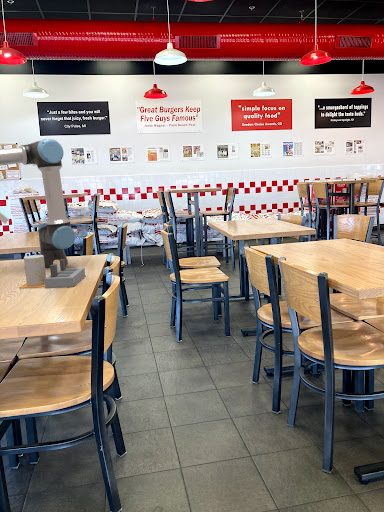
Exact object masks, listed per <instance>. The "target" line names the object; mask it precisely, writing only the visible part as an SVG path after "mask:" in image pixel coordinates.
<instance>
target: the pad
mask: <svg viewBox="0 0 384 512" xmlns="http://www.w3.org/2000/svg"><path fill="white" fill-rule="evenodd" d="M38 288H45V284H43V285H38V286H28V285H27V282H26V283H24V284H23V285H21V286H20V287H19V289H38Z"/></svg>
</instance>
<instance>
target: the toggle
mask: <svg viewBox="0 0 384 512" xmlns="http://www.w3.org/2000/svg"><path fill="white" fill-rule="evenodd" d="M53 264H57V272H58V273H59V272H61V269H60V261H59V260H54V262H53Z"/></svg>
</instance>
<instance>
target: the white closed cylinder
mask: <svg viewBox="0 0 384 512" xmlns="http://www.w3.org/2000/svg"><path fill="white" fill-rule="evenodd" d="M23 262H24V263H23V264H24V271H25V278H26V279H25V281H26V283H27V285H28V286H38V285H43V284H45V280H44V279H45V278H46V277H47V275H46V268H45V264H44V256H43V255H40V254H34V255H26V256H24V257H23Z"/></svg>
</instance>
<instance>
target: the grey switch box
mask: <svg viewBox="0 0 384 512" xmlns="http://www.w3.org/2000/svg"><path fill="white" fill-rule="evenodd" d="M59 261H60V269H61V272H59V273H58V272H57V264H52V265H50V267H49V271H50V275H48V276H46V278H45V279H44V280H45V287H44V288H45V289H57V288H58V289H59V288H74V287H75V286H76V285H77V284H79V282H81V281H82V280H83V279H84V278H85V277H86V269H85V267H75V268H73V267H72V268H71V267H70V268H67V267H66V265H65V259H60V260H59Z"/></svg>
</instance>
